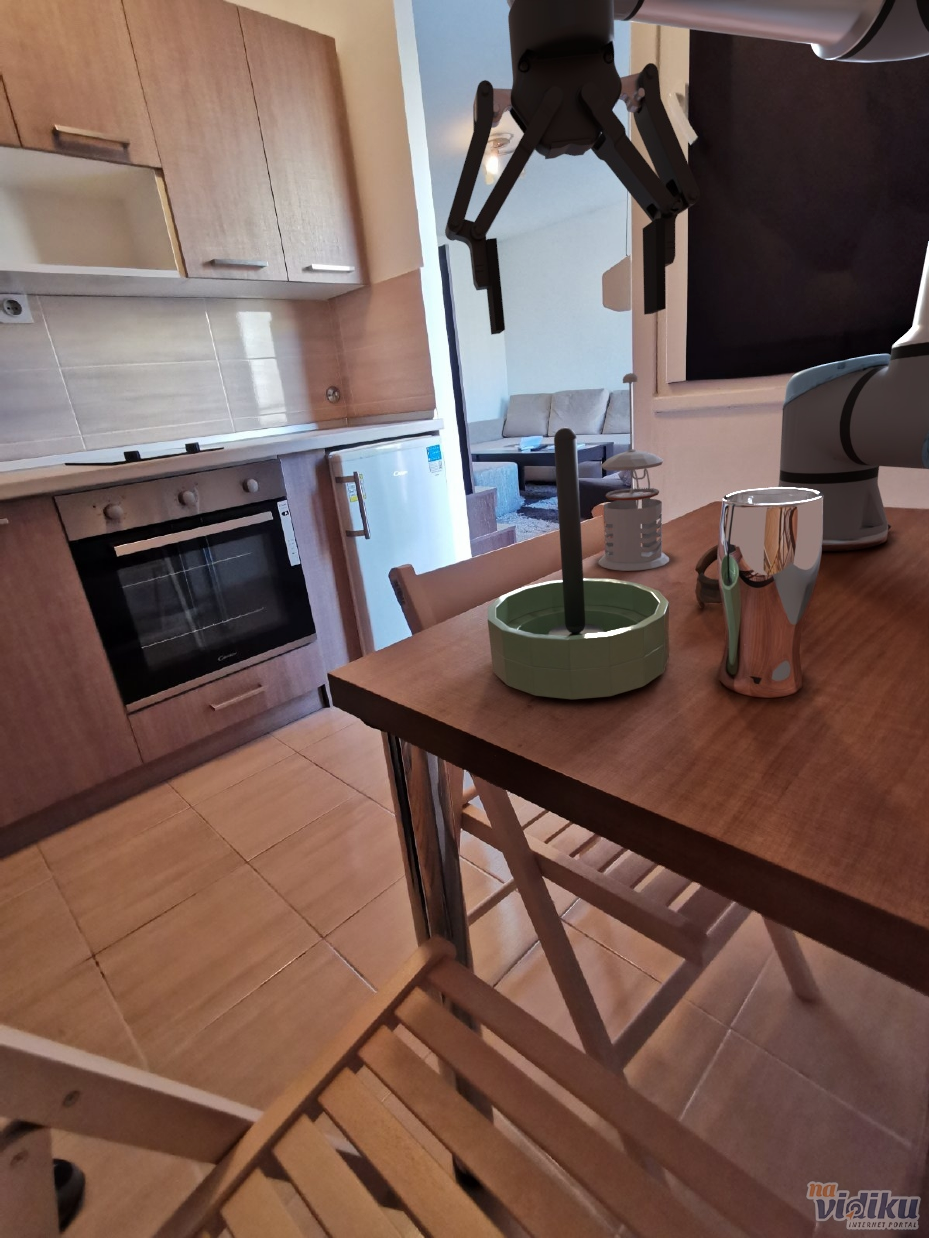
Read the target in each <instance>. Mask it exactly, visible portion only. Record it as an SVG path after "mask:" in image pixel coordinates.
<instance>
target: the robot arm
mask: <svg viewBox="0 0 929 1238" xmlns="http://www.w3.org/2000/svg"><path fill="white" fill-rule="evenodd" d="M506 4H507V5H508V8H509V11H508V15H507V21H508V22H507V23H508V35H509V46H510V47H509V48H510V60H511V70H512V71H511V73H512V74H511V75H512V86H511V88H496V87H495V88H494V86H493V84H492V83H491V82H490V81H489V80H487V79H484V80H481V81H480V82H479V83H478V85H477V88H476V92H475V96H474V100H473V107H472V112H473V113H472V117H473V120H472V121H473V122H472V123H473V125H472V126H473V127H472V128H473V129H472V130H473V131H472V135H471V139H470V142H469V144H468V149H467V151H466V156H465V160H464V162H463V167H462V170H461V173H460V176H459V180H458V183H457V187H456V190H455V194H454V197H453V200H452V204H451V207H450V210H449V215H448V217H447V222H446V224H445V229H444V231H445V232H444V235H445V237H446V238H447V239H448V240H449V241H451V242H453V241H457V242H461V243H464V244H465V245H466V246H467V247H468V249H469V254H470V255H469V256H470V265H471V274H472V282H473V283H472V284H473V286H474V289H475V290H476V291H483V290H486V297H487V306H488V316H489V317H488V318H489V326H490V327H489V328H490V335H499V334H501V333H503V332H505V330H506V324H505V314H504V302H503V301H504V300H503V291H502V281H501V270H500V259H499V249H498V238H497V237H493V238H487V234H488V233H489V231H490V230H491V227H492V225H493V224H494V222H495V220H496V219H497V217H498V215H499V213H500V212H501V211H502V208H503V206H504V204H505V203H506V201H507V199H508V198H509V196H510V194H511V192H512V190H513V189H514V187H515V185H516V184H517V182H518V180H519V178H520V177H521V175H522V173H523V171H524V170H525V169H526V166H527V164H528V163H529V162H530V160H531V158H532V156H533V154H534V153H535V152H536V153H537V154H538V155H541V156H542V157H544V159H545V160H550V159H556V158H558V157H560V156H562V155H563V156H564V155H568V156H571V157H572V156H573V157H578V156H584V155H585V154H586V153H587V152H588V151H589V150H591V151H592V152H593V154H594V155H595V157H596V158H598V159H599V160H600V161H603V162H605V164H606V165H607V166H608V167H609V169H610V170H611V171H612V173H613V174H614V175H615V176H616V178H617V179H618V180H619V181H620V183H621V184H622V185H623V186H624V188H625V189H626V191H627V192H628V193H629V194H630V196H631V197H632V198H633V200H634V201H635V202H636V203H637V205H638V206H639V207H640V208H641V210H642V211H643V212H644V214H645V215H646V216H647V217H648V218H649V220H650V221H651V222H650V223H648V224H646V225H645V226H643V228H642V269H643V271H642V273H643V275H642V276H643V315H645V316H646V315H653V314H655V313H658V312H661V311H664V310H666V308H667V306H666V304H667V303H666V302H667V301H666V299H667V296H666V289H667V288H666V287H667V286H666V267H668V266H670V265H672V264H674V261H675V258H676V222H677V221H676V220H677V217H678V216H679V215H680V214H681V213H683V212H685V211H686V210H688V209H689V208H691V207H692V206H694V205H695V204H696V203H697V202H699V199H700V197H701V194H700V193H701V192H700V188H699V187H698V184H697V181H696V179H695V177H694V174H693V172H692V169H691V167H690V165H689V163H688V160H687V157H686V155H685V153H684V151H683V148H682V146H681V144H680V141H679V139H678V136H677V134H676V131H675V130H674V126H673V124H672V122H671V119H670V116H669V115H668V112H667V110H666V107H665V105H664V103H663V100H662V97H661V96H662V95H661V86H660V77H659V69H658V67H657V65H656V64H655V63H654V62H652V63H651V62H649V63H646V64H645V66H644V67H643V69H642V70H641V71H640V72H637V73H633V74H629V75H626V76H625V75H624V76H620V74H619V72H618V70H617V66H616V62H615V44H616V43H615V41H616V40H615V22H616V21H617V22H618V21H619V22H630V23H637V24H638V23H639V24H646V25H655V26H663V27H670V28H679V29H687V30H694V31H695V30H696V31H703V32H711V33H717V34H727V35H735V36H743V37H751V38H758V39H767V40H775V41H783V42H791V43H797V44H798V43H799V44H807V45H810V46H811V49H812V50H813V52H814V54H815V55H816V56H817V57H819V59H823V60H828V61H829V60H830V61H837V62H838V61H839V62H849V63H882V62H883V63H884V62H894V61H896V62H897V61H903V60H911V59H916V58H921V57H925V56H929V0H506ZM619 100H621V101H622V102H624V104H625V106H626V112H628V113H632V115H633V120H634V123H635V126H636V129H637V131H638V134H639V136H640V138H641V141H642V143H643V145H644V148H645V150H646V152H647V154H648V156H649V159H650V161H651V163H652V165H653V168H654V169H653V168H652V167H651V165H650V164H649V163H648V162H647V160H646V159H645V158H644V157H643V155H642V154H641V152H640V151H639V150H638V148H637V147H636V146H635V144H634V143H633V142H632V140H631V139H630V138H629V137H628V135H627V131H626V126H625V125H624V124H623V123H622V121H621V120H620V119H619V117H618V116H617V115H616V113H615V112H614V109H615V108H616V105H617V103H618V102H619ZM506 112H508V113H509V114H510V116H511V118H512V119H513V121H514V122H515V124H516V125H517V127H518V128H519V130H520V131H521V132H522V136H521V138H520V140H519V142H518V143H517V146H516V147H515V149H514V151H513V153H512V155H511V156H510V157H509V160H508V162H507V164H506V165H505V167H504V169H503V170H502V172H501V174H500V176H499V178H498V179H497V181H496V183H495V185H494V186H493V187H492V190H491V192H490V193H489V195H488V197H487V199H486V200H485V202H484V203H483V206H482V207H481V209H480V211H479V213H478V215H477V217H476V218H475V220H474V221H472V220H469V219H466V216H467V214H468V213H467V212H468V210H469V206H470V202H471V200H472V196H473V192H474V189H475V186H476V182H477V179H478V175H479V172H480V170H481V166H482V162H483V160H484V156H485V152H486V149H487V147H488V146H487V145H488V143H489V140H490V136H491V131H492V129H494V128H497V127H498V126H499V125H500V123H501V121H502V117H503V115H504V114H505V113H506ZM654 170H655V171H654ZM921 274H922V275H921V279H920V285H919V290H918V295H917V301H916V306H915V311H914V316H913V321H912V327H911V328H910V329H908V331H907V332H906V333H905V334H904V335H903V336H902V337H900V338H899V339H898V340H897V341H896V342H895V343H893V344H892V346H891V352H890V354H889V353H880V354H879V353H878V354H870V355H864V356H859V357H858V356H857V357H854V358H849V359H845V360H839V361H835V362H830V363H826V364H821V365H817V366H814V367H810V368H807V369H803V370H801V371H798V372H796V373H794V374H793V375H792V376H791V377H790V378H789V380H787V381H788V382H787V384H786V387H785V394H784V395H785V396H784V402H783V404H782V409H781V410H782V417H781V418H782V419H781V436H780V437H781V439H780V461H779V478H778V485H777V488H801V489H810V490H816V491H819V492H821V493H823V495H824V497H823V541H822V552H842V551H843V552H845V551H853V550H855V551H856V550H862V549H868V548H873V547H876V546H879V545H881V544H883V543H886V541H887V539H888V532H889V530H890V529H891V528H892V525H891V524H889V523H888V519H887V514H886V511H885V510H886V509H885V507H884V503H883V499H882V494H881V491H880V488H879V472H880V467H889V468H901V469H917V470H918V469H920V470H929V242H928V243H927V248H926V253H925V259H924V264H923V269H922V273H921Z"/></svg>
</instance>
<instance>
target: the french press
mask: <svg viewBox="0 0 929 1238" xmlns="http://www.w3.org/2000/svg"><path fill="white" fill-rule="evenodd" d="M633 383H638V375H637V374H636V373H634V372H629V373H626V374H625V375H624V376H623V378H622V384H628V387H629V391H628V394H629V434H630V435H629V442H630V443H629V444H630V446H629V447H630V448H629V449H628V450H627V451H623V452H621V453H617V454H615V455H612V456H611V457H609V458H607V459H606V460H605V461H604V462H603V463H602V464H601V465H600V467H601V468H602V469H603V470H605V471H612V472H621V471H626V472H627V471H630V488H620V489H615V490H613V491H612V490H611V491H608V492H607V493H606V494H605V498H606V499H608V500H611V501H610V502H607V503H605V504H603V525H604V527H603V528H604V531H603V532H604V533H605V534H604V541H605V542H604V555H602V556H601V558H600V559H599V560H598V563H597V564H598V565H599V566H601V567H602V568H605V569H608V570H613V571H622V572H623V571H624V572H625V571H626V572H627V571H628V572H629V571H630V572H631V571H645V570H652V569H656V568H660V567H663V566H665V565H666V564H668V563H669V562H670V558H669V556H668V555H666V554H665V553H664V552H663V550H662V549H663V523H662V521H663V512H662V511H663V501H661V500H659V499H655V498H654V497H657V496H658V495H659V494H660V489H657V488H654V487H652V488H651V481H650V475H649V470H648V469H651V468H656V467H657V468H658V467H659V466H661V465H662V464H663V462H664V459H663V458H661V457H660V456H658V455H657V454H654V453H651V452H648V451H643V450H636V449H634V448H633V425H632V423H633V422H632V420H633V419H632V384H633ZM637 470H643V475H642V476H640V477H638V474H637ZM645 477H646V478H647V484H648V485H647V487H643V488H641V487H639V480H644V479H645ZM633 480H635V482H636V487H633V485H634V484H633ZM639 501H641V508H639ZM605 524H606V525H605Z"/></svg>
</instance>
